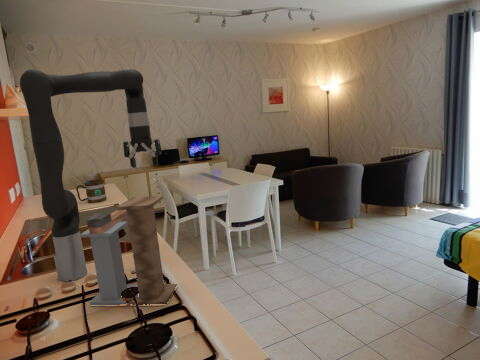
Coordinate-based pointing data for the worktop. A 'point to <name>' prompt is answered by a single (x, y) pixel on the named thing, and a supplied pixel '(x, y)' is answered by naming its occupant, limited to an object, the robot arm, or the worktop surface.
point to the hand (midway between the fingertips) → (144, 167)
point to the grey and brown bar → (104, 221)
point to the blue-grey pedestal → (108, 266)
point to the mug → (94, 191)
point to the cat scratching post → (146, 251)
